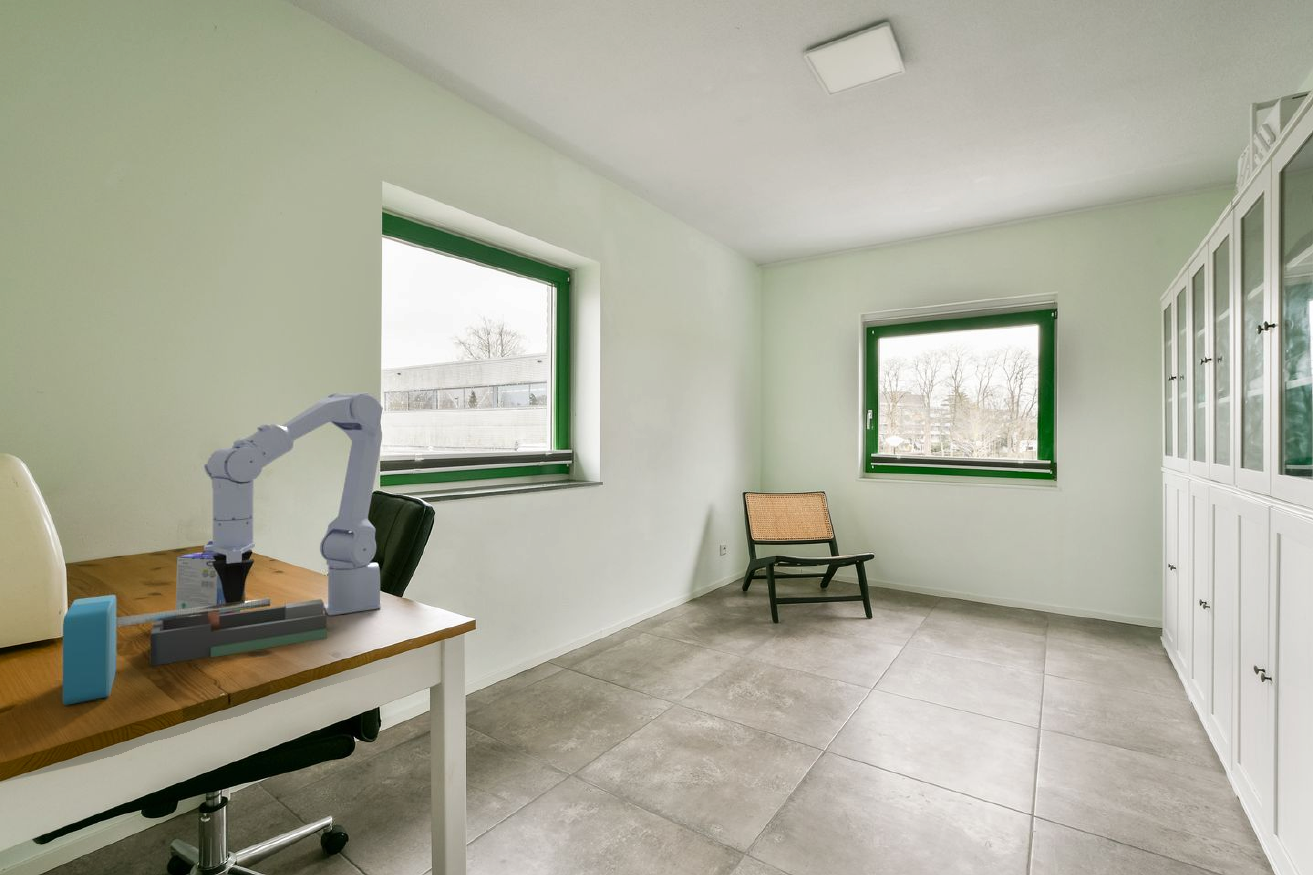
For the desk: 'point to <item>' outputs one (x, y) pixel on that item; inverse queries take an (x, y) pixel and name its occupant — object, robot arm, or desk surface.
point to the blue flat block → (89, 649)
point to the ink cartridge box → (198, 581)
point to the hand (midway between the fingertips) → (233, 597)
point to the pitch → (237, 632)
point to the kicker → (195, 612)
